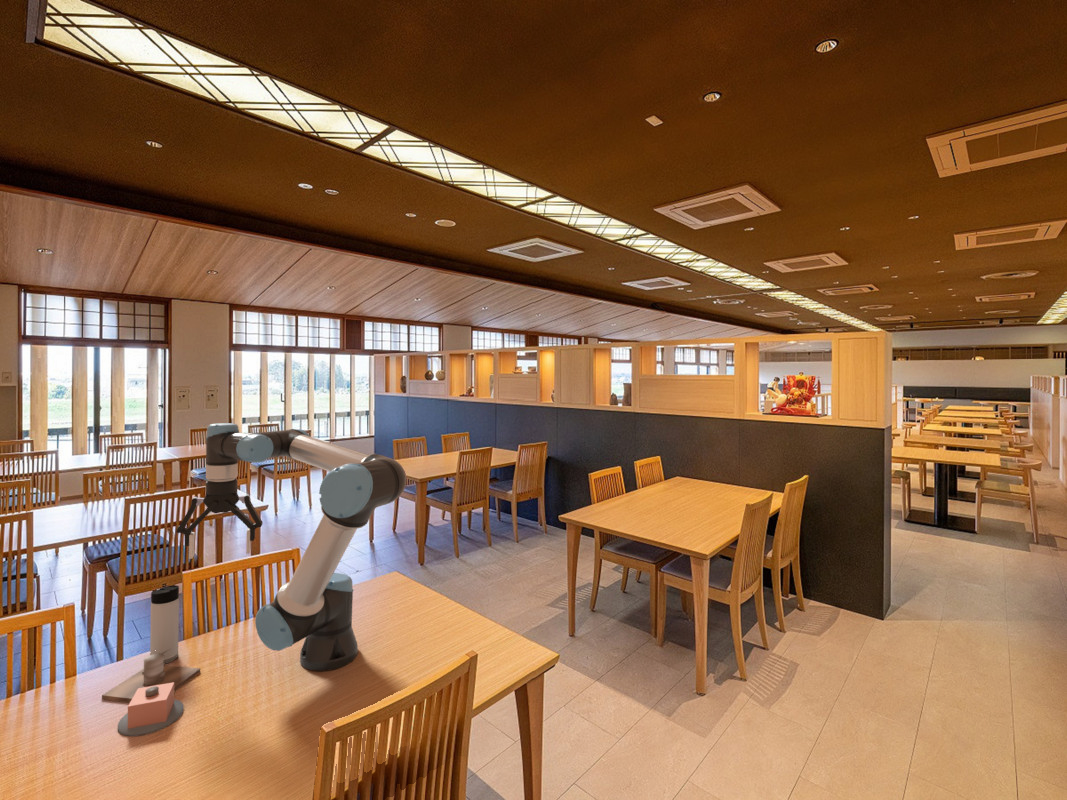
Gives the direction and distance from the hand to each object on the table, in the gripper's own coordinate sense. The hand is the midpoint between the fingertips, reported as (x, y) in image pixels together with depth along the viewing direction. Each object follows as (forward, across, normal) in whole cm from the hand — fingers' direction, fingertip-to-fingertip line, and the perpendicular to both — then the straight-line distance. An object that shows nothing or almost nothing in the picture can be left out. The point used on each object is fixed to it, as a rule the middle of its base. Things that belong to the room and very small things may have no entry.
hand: (220, 554), depth 140 cm
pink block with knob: (+28, +10, +24) cm, 38 cm away
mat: (+29, +10, +24) cm, 39 cm away
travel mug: (+29, +13, -3) cm, 32 cm away
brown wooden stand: (+29, +13, +10) cm, 33 cm away
